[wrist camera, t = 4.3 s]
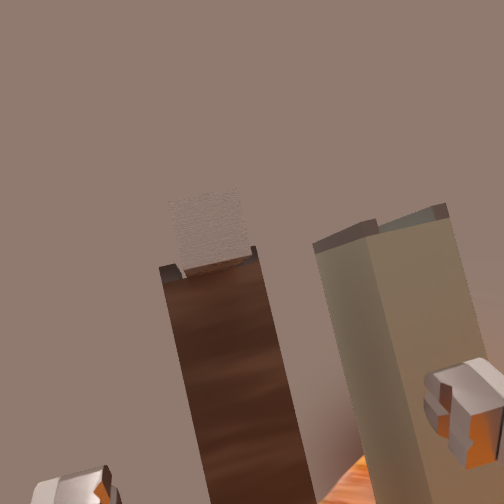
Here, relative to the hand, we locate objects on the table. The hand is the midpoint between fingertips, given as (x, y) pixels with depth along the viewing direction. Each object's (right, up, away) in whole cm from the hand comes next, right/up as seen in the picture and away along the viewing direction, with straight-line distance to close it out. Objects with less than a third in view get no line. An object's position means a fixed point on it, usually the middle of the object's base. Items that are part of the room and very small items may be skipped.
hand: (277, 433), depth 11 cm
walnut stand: (+3, -25, +20) cm, 32 cm away
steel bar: (-3, +3, +19) cm, 19 cm away
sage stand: (+15, -23, +22) cm, 35 cm away
